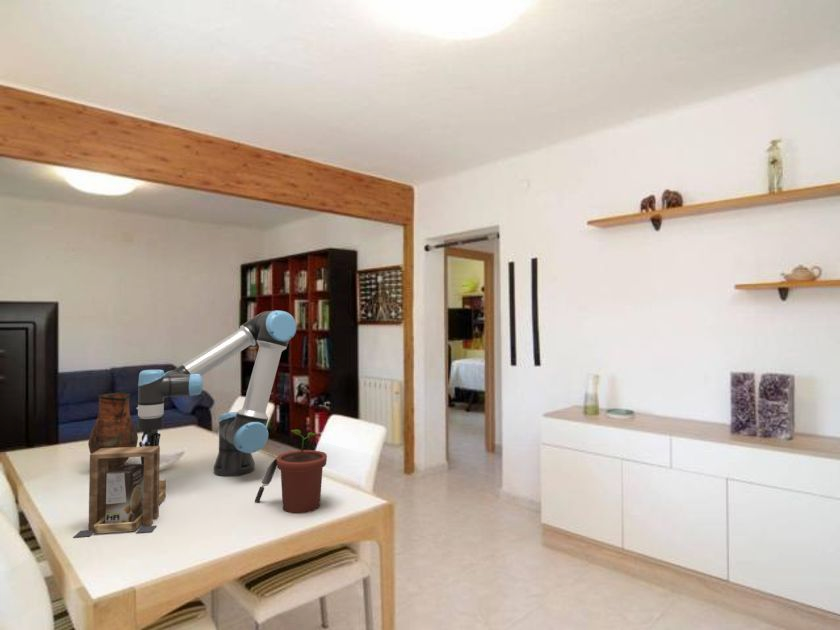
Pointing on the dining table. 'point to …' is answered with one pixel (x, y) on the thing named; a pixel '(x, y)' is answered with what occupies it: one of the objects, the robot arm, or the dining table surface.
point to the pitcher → (113, 427)
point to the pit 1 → (84, 533)
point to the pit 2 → (146, 529)
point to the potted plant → (298, 478)
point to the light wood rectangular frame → (128, 526)
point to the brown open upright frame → (100, 474)
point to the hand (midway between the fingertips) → (149, 487)
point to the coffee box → (124, 493)
